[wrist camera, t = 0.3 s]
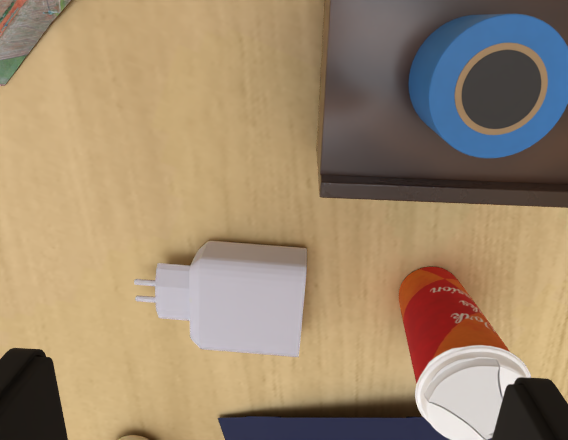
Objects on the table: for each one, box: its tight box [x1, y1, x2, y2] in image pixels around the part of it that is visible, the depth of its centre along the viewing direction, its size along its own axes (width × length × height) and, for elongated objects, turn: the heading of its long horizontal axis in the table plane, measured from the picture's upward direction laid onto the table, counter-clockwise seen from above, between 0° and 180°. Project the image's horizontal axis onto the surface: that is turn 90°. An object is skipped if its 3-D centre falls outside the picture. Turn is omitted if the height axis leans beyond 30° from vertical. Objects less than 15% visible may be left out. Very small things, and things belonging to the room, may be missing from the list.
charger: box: [134, 241, 307, 357], centre depth 42 cm, size 5×9×15 cm
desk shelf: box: [317, 0, 568, 208], centre depth 31 cm, size 12×16×12 cm
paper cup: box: [399, 267, 531, 440], centre depth 37 cm, size 8×8×14 cm
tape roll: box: [409, 14, 568, 158], centre depth 24 cm, size 7×7×5 cm
